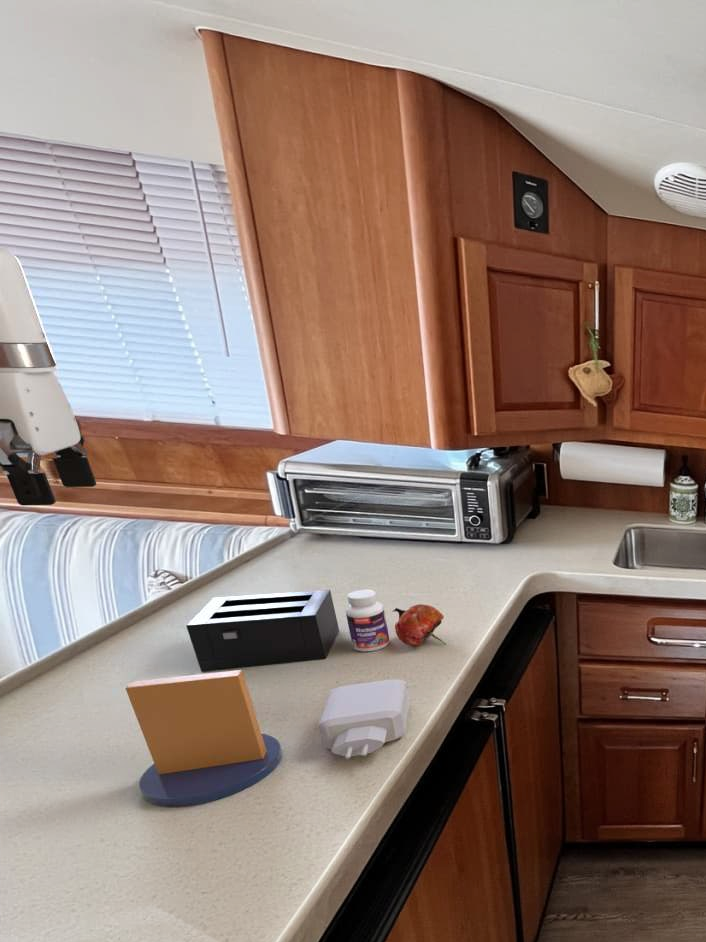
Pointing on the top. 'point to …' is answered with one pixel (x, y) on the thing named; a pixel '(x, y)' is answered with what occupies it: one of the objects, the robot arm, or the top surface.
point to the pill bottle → (366, 621)
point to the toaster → (263, 629)
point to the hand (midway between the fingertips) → (60, 495)
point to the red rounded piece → (417, 624)
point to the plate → (208, 779)
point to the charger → (364, 716)
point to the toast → (197, 720)
